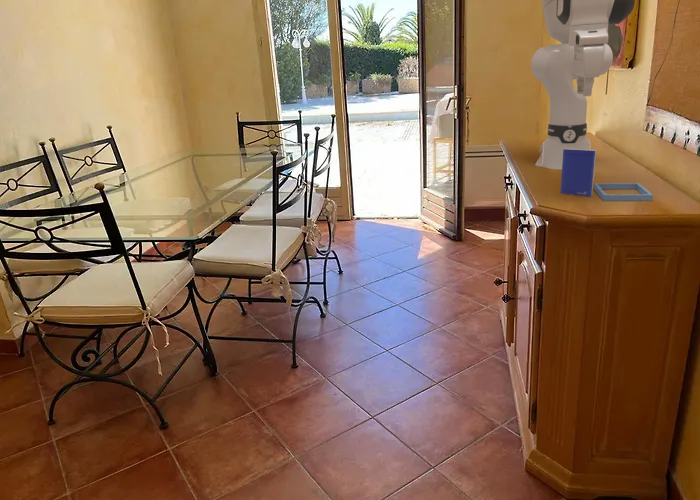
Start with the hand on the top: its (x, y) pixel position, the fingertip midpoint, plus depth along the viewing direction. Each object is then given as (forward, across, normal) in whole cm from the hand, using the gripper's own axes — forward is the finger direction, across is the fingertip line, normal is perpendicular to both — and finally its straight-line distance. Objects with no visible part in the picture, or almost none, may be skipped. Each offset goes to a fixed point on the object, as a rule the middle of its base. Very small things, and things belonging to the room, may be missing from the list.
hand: (583, 94), depth 140 cm
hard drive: (+27, 0, 0) cm, 27 cm away
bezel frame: (+26, 0, +11) cm, 29 cm away
